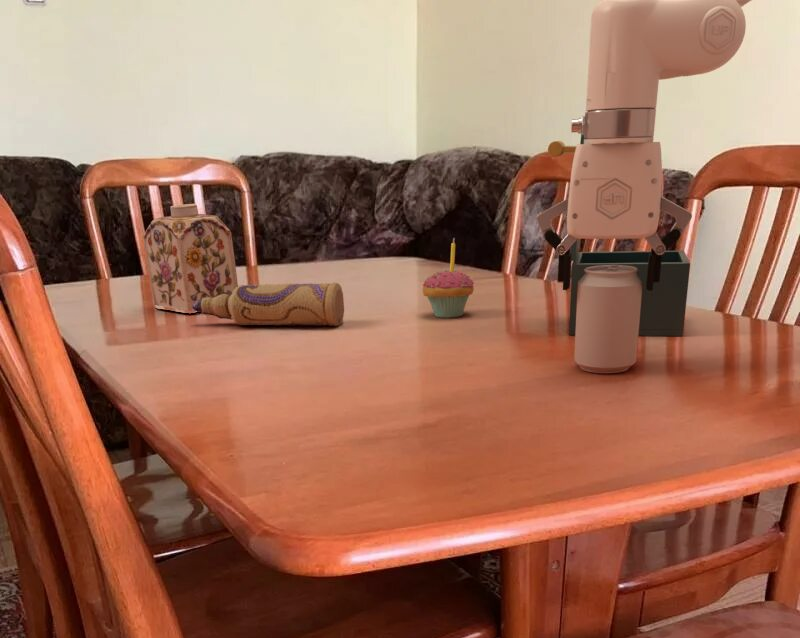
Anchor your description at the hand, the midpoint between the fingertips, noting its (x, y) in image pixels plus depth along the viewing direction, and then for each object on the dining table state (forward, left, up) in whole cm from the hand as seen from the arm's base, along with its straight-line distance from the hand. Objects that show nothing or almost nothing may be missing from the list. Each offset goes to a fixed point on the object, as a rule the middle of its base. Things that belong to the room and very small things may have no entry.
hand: (607, 288), depth 98 cm
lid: (-5, -25, +9) cm, 27 cm away
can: (0, 0, -10) cm, 10 cm away
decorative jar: (+57, -63, -10) cm, 85 cm away
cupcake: (+13, -40, -10) cm, 43 cm away
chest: (-11, -23, -10) cm, 27 cm away
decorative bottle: (+42, -42, -10) cm, 60 cm away
